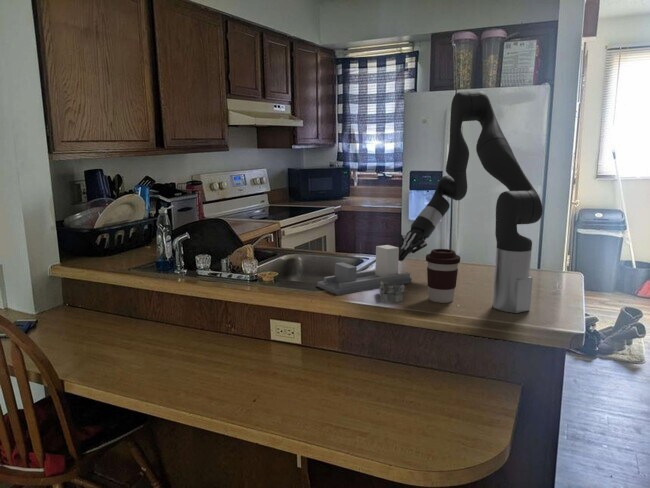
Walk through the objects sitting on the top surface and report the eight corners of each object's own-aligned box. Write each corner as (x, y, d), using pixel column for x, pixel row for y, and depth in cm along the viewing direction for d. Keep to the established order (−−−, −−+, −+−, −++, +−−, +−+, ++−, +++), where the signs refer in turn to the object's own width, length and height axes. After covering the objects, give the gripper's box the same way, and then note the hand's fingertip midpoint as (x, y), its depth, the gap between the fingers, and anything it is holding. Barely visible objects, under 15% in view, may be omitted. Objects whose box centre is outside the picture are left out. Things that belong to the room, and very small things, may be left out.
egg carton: (380, 292, 161) (380, 280, 160) (404, 293, 160) (404, 281, 159) (377, 302, 151) (378, 288, 150) (403, 303, 150) (403, 289, 149)
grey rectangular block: (359, 284, 163) (359, 266, 162) (348, 286, 161) (348, 268, 160) (345, 279, 170) (345, 261, 169) (334, 281, 168) (334, 263, 167)
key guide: (411, 282, 172) (411, 273, 172) (337, 295, 157) (337, 285, 156) (389, 274, 182) (389, 266, 182) (317, 286, 167) (317, 277, 166)
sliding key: (397, 276, 173) (398, 247, 171) (386, 278, 170) (387, 249, 168) (386, 273, 178) (387, 244, 176) (375, 274, 175) (376, 246, 173)
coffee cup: (421, 294, 158) (423, 247, 155) (453, 295, 157) (456, 247, 155) (427, 304, 148) (429, 254, 145) (461, 305, 148) (464, 254, 145)
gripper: (408, 213, 183) (380, 249, 179) (434, 217, 172) (405, 256, 168) (419, 226, 187) (392, 262, 183) (445, 231, 176) (417, 270, 172)
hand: (398, 259), depth 176 cm, fingers closed
